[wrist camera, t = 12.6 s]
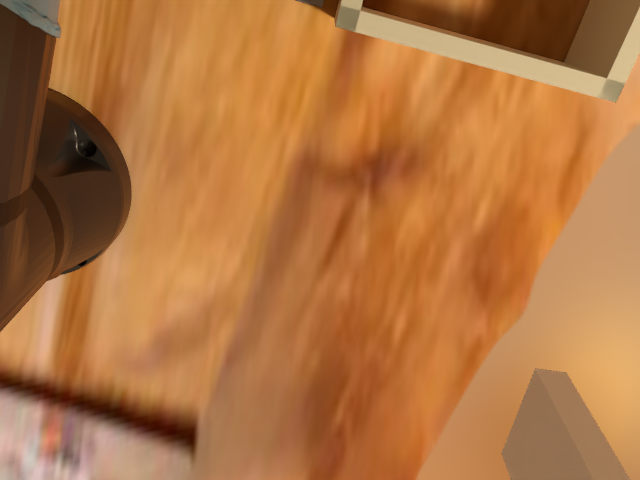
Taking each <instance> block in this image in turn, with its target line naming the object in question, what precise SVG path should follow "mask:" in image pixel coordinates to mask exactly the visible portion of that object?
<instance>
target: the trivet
mask: <svg viewBox="0 0 640 480" xmlns="http://www.w3.org/2000/svg"><path fill="white" fill-rule="evenodd" d="M296 1H300V2H303V3H307V4H311V5H314V6H318V7H323V3H324V0H296Z"/></svg>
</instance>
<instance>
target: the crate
mask: <svg viewBox="0 0 640 480" xmlns="http://www.w3.org/2000/svg"><path fill="white" fill-rule="evenodd" d="M362 3H363V0H339V2H338V6H337V10H336V14H335V27H339V28H342V29H346V30H350V31H354V32H357V33H361V34H365V35H368V36H372V37H376V38H379V39H383V40H387V41H390V42H394V43H398V44H402V45H405V46H409V47H413V48H416V49H420V50H424V51H427V52H431V53H435V54H438V55H442V56H446V57H450V58H453V59H457V60H461V61H464V62H468V63H472V64H475V65H479V66H483V67H486V68H490V69H494V70H498V71H501V72H505V73H509V74H512V75H516V76H520V77H523V78H527V79H531V80H534V81H538V82H542V83H546V84H549V85H553V86H557V87H560V88H564V89H568V90H571V91H575V92H579V93H582V94H586V95H590V96H594V97H597V98H601V99H605V100H608V101H612V102H617V99H618V97H619V95H620V93H621V91H622V89H623V87H624V85H625V83H626V80H627V78H628V76H629V74H630V72H631V70H632V68H633V66H634V64H635V62H636V59H637V57H638V55H639V53H640V0H590V2H589V4H588V6H587V9H586V11H585V13H584V16H583V18H582V21H581V23H580V25H579V28H578V30H577V32H576V35H575V37H574V40H573V42H572V44H571V47H570V49H569V51H568V54H567V56H566V58H565V61H564V62H561V61H558V60H554V59H550V58H547V57H543V56H539V55H536V54H532V53H528V52H525V51H521V50H518V49H514V48H510V47H507V46H503V45H499V44H496V43H492V42H489V41H485V40H481V39H478V38H474V37H470V36H467V35H463V34H459V33H456V32H452V31H449V30H445V29H441V28H438V27H434V26H430V25H427V24H423V23H420V22H416V21H412V20H409V19H405V18H401V17H398V16H394V15H390V14H387V13H383V12H380V11H376V10H372V9H369V8H365V7H361V6H362Z"/></svg>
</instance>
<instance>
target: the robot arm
mask: <svg viewBox="0 0 640 480" xmlns="http://www.w3.org/2000/svg"><path fill="white" fill-rule="evenodd" d="M59 3H60V0H0V332H1V331H2V330H3V328H4V327H5V326H6V325H7V324H8V323H9V322H10V321H11V320H12V318H13V317H14V316H15V315H16V314H17V313H18V312H19V311H20V310H21V309H22V307H23V306H24V305H25V304H26V303H27V302H28V301H29V300H30V299H31V297H32V296H33V295H34V294H35V293H36V292H37V291H38V290H39V289H40V288H41V286H42V285H43V284H44V283H45V282H46V281H48V280H51V279H54V278H56V277H58V276H59V275H62V274H66V273H69V272H72V271H75V270H78V269H80V268H82V267H84V266H86V265H88V264H90V263H91V262H93V261H94V260H95V259H97V258H98V257H99V256H100V255H102V254H103V253H104V252H105V251H106V250H107V248H108V247H109V246H110V245H111V244H112V242H113V241H114V240H115V239H116V237H117V236H118V235H119V233H120V232H121V230H122V229H123V227H124V225H125V223H126V220H127V217H128V214H129V210H130V205H131V181H130V176H129V172H128V168H127V165H126V162H125V159H124V157H123V155H122V153H121V151H120V149H119V147H118V145H117V143H116V142H115V140H114V139H113V137H112V136H111V134H110V133H109V132H108V131H107V129H106V128H105V127H104V126H103V125H102V124H101V123H100V122H99V121H98V119H97V118H95V117H94V116H93V115H92V114H91V113H90V112H89V111H87V110H86V109H85V108H83V107H82V106H81V105H79V104H78V103H76V102H74V101H73V100H71V99H69V98H67V97H66V96H64V95H61V94H59V93H57V92H54V91H52V90H49V89H48V86H49V80H50V74H51V67H52V61H53V55H54V49H55V43H56V38H60V35H61V28H60V25H59V24H58V12H59ZM502 456H503V459H504V462H505V464H506V467H507V470H508V472H509V475H510V478H511V480H630V478H629V476H628V475H627V473H626V471H625V470H624V468H623V466H622V465H621V463H620V461H619V460H618V458H617V456H616V455H615V453H614V451H613V450H612V448H611V446H610V445H609V443H608V441H607V440H606V438H605V436H604V435H603V433H602V431H601V430H600V428H599V426H598V425H597V423H596V421H595V420H594V418H593V417H592V415H591V413H590V411H589V409H588V408H587V406H586V404H585V403H584V401H583V399H582V398H581V396H580V394H579V393H578V391H577V389H576V388H575V386H574V384H573V383H572V381H571V379H570V378H569V376H568V374H567V373H565V372H558V371H551V370H543V369H535V370H534V373H533V375H532V378H531V380H530V383H529V385H528V388H527V390H526V393H525V395H524V398H523V400H522V403H521V406H520V408H519V411H518V413H517V416H516V418H515V421H514V423H513V426H512V428H511V431H510V434H509V436H508V438H507V441H506V443H505V446H504V448H503V451H502Z"/></svg>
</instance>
